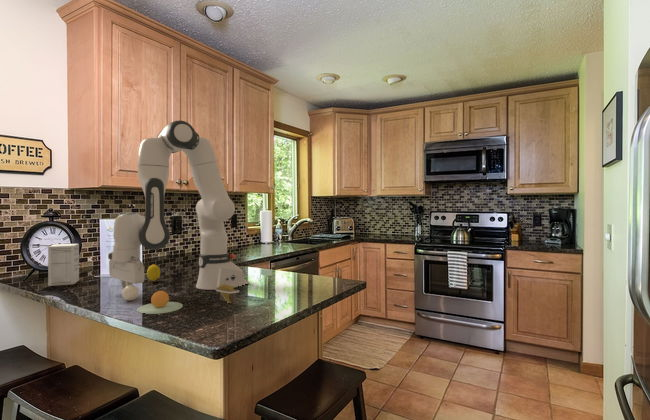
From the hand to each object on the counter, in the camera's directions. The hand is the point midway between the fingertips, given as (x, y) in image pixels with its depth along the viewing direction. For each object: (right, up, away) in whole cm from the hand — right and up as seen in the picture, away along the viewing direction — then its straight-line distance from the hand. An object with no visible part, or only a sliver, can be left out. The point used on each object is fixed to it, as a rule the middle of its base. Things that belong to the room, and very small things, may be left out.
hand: (126, 292), depth 133 cm
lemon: (-3, -2, +26) cm, 27 cm away
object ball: (+19, +1, -14) cm, 23 cm away
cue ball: (+5, +1, -5) cm, 7 cm away
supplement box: (-39, -1, +21) cm, 44 cm away
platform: (+39, -3, -6) cm, 40 cm away
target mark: (+19, -2, -14) cm, 24 cm away
